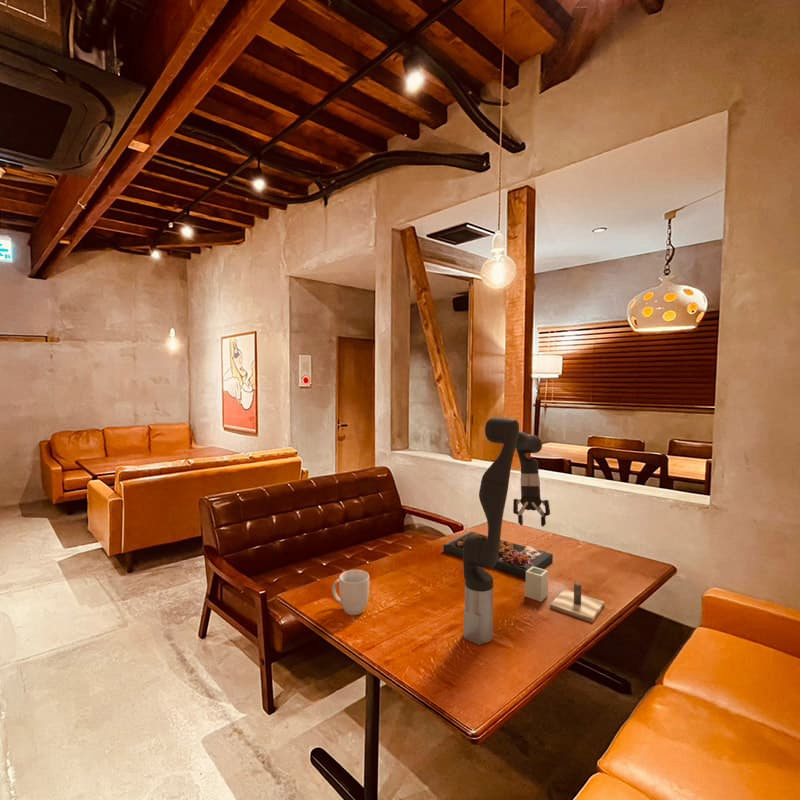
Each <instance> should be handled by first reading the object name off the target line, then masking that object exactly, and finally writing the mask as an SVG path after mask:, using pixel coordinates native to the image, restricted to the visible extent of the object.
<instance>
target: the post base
mask: <svg viewBox="0 0 800 800" xmlns="http://www.w3.org/2000/svg"><path fill="white" fill-rule="evenodd" d="M582 586H583V585H582V584H581V583H579V582H575V583H573V591H571V590H569V589H563V590H562V591H561V592H560V593H559V595H557V597H555V599H554V600H553V601H551V602H550V604H549V608H550V609H552V610H555V611H558V612H561V613H563V614H566V615H568V616H571V617H574V618H578V619H579V620H580V619H581V620H583V621H587V622H589V623H593V622H594V621H595V619H596V618H597V617H598V615H599V614H600V612H601V611H602V610H603V608H604V607H605V601H604V600H600V599H597V598H594V597H591V596H587V595H585V594H582Z"/></svg>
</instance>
